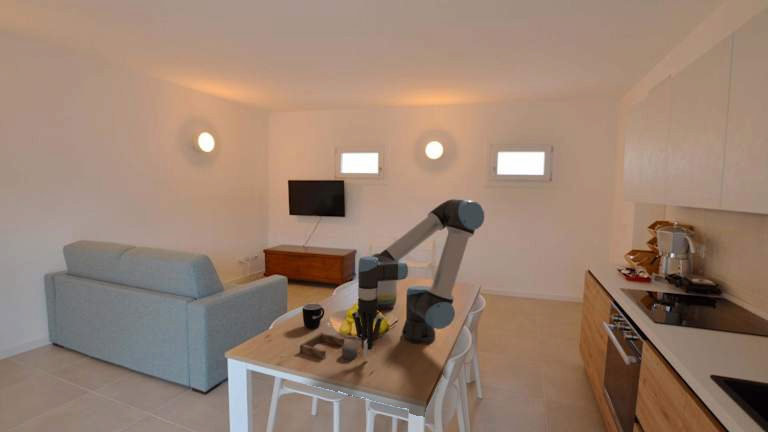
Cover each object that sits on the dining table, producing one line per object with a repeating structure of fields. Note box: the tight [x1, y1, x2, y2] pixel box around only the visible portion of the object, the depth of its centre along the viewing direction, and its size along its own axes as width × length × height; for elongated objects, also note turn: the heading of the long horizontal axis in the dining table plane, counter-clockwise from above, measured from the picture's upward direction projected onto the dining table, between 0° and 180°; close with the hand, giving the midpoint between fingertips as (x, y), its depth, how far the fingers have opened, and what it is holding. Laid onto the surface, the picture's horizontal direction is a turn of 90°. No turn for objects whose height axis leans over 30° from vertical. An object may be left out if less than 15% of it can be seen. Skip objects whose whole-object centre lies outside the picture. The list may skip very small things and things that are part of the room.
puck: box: [341, 344, 358, 361], centre depth 143 cm, size 6×6×4 cm
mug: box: [302, 302, 325, 330], centre depth 172 cm, size 12×9×10 cm
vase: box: [377, 280, 398, 310], centre depth 202 cm, size 17×17×24 cm
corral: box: [299, 332, 345, 360], centre depth 149 cm, size 12×14×3 cm
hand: (366, 356), depth 139 cm, fingers closed
